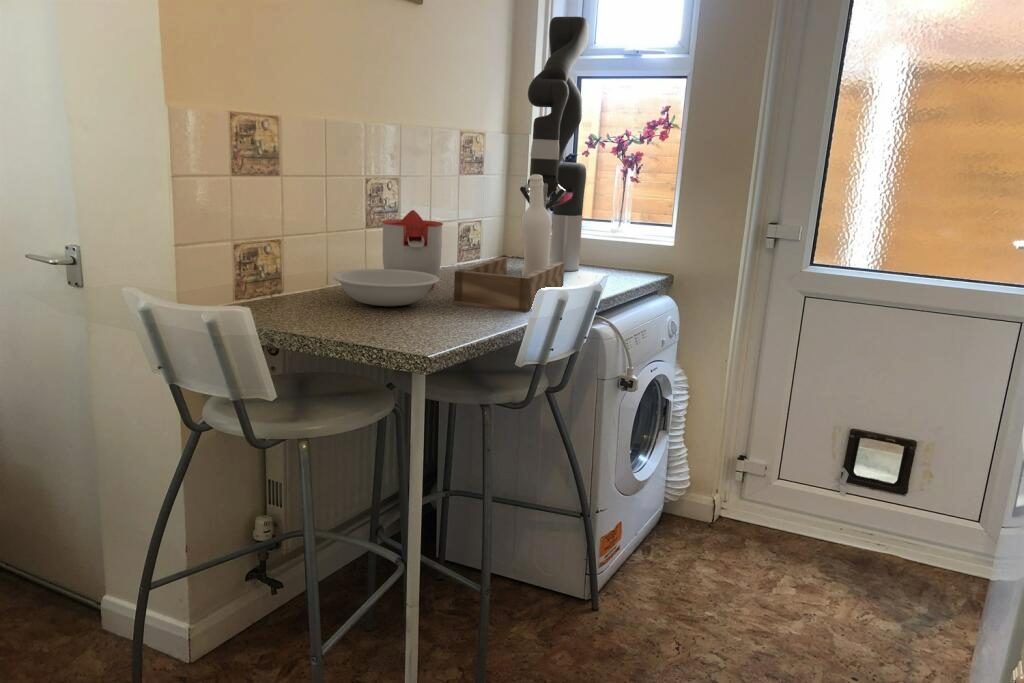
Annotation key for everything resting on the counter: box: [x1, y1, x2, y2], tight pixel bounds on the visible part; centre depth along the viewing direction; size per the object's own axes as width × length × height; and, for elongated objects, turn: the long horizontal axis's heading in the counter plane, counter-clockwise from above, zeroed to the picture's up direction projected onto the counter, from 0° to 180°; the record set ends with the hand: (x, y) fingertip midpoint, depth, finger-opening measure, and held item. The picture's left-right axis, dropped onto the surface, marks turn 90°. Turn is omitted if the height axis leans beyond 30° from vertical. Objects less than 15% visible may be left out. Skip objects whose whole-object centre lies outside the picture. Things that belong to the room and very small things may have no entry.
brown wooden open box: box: [453, 256, 565, 313], centre depth 200 cm, size 32×18×8 cm, turn 162°
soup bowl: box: [332, 268, 440, 307], centre depth 184 cm, size 24×24×7 cm
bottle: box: [521, 174, 553, 277], centre depth 214 cm, size 8×8×30 cm
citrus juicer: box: [381, 209, 444, 289], centre depth 206 cm, size 16×17×20 cm
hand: (541, 222), depth 218 cm, fingers closed
